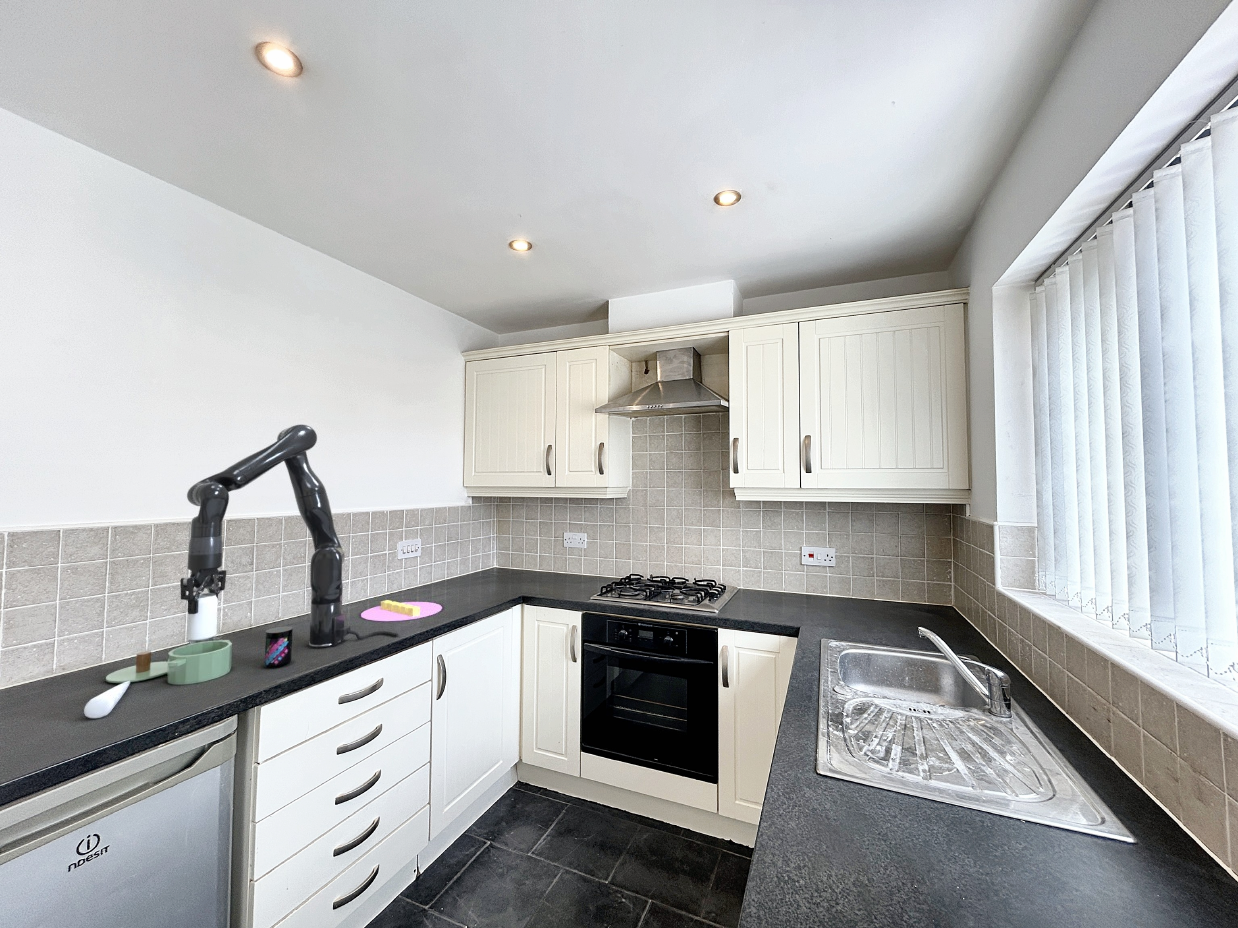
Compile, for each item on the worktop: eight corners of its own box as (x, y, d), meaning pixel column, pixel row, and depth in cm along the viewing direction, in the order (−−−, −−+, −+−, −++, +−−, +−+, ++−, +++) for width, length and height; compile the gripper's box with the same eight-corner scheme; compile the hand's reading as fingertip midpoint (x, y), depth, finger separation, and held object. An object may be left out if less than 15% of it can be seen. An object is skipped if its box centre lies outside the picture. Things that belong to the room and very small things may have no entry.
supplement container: (258, 667, 144) (259, 631, 144) (280, 659, 150) (281, 625, 151) (275, 669, 142) (277, 633, 143) (296, 661, 149) (298, 627, 149)
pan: (248, 662, 148) (249, 637, 148) (198, 688, 129) (200, 659, 129) (200, 663, 147) (202, 637, 147) (144, 689, 128) (145, 660, 128)
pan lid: (190, 664, 146) (191, 643, 146) (147, 684, 131) (148, 661, 131) (139, 665, 145) (140, 644, 145) (89, 685, 130) (90, 662, 130)
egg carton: (223, 650, 158) (223, 637, 159) (192, 656, 153) (193, 643, 153) (215, 643, 165) (216, 630, 165) (186, 648, 160) (186, 636, 160)
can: (198, 642, 135) (200, 598, 135) (180, 640, 136) (182, 597, 137) (222, 634, 141) (223, 593, 142) (204, 633, 142) (206, 592, 143)
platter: (389, 625, 187) (390, 616, 187) (344, 613, 204) (345, 605, 204) (457, 608, 214) (458, 600, 214) (413, 598, 231) (413, 591, 231)
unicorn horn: (148, 680, 134) (149, 662, 134) (110, 717, 113) (111, 696, 113) (124, 683, 131) (125, 665, 132) (82, 721, 111) (83, 700, 111)
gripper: (199, 555, 133) (196, 617, 132) (237, 548, 147) (234, 604, 146) (170, 555, 132) (167, 617, 132) (211, 548, 147) (208, 604, 146)
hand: (203, 610), depth 139 cm, fingers closed on can, 6 cm apart
